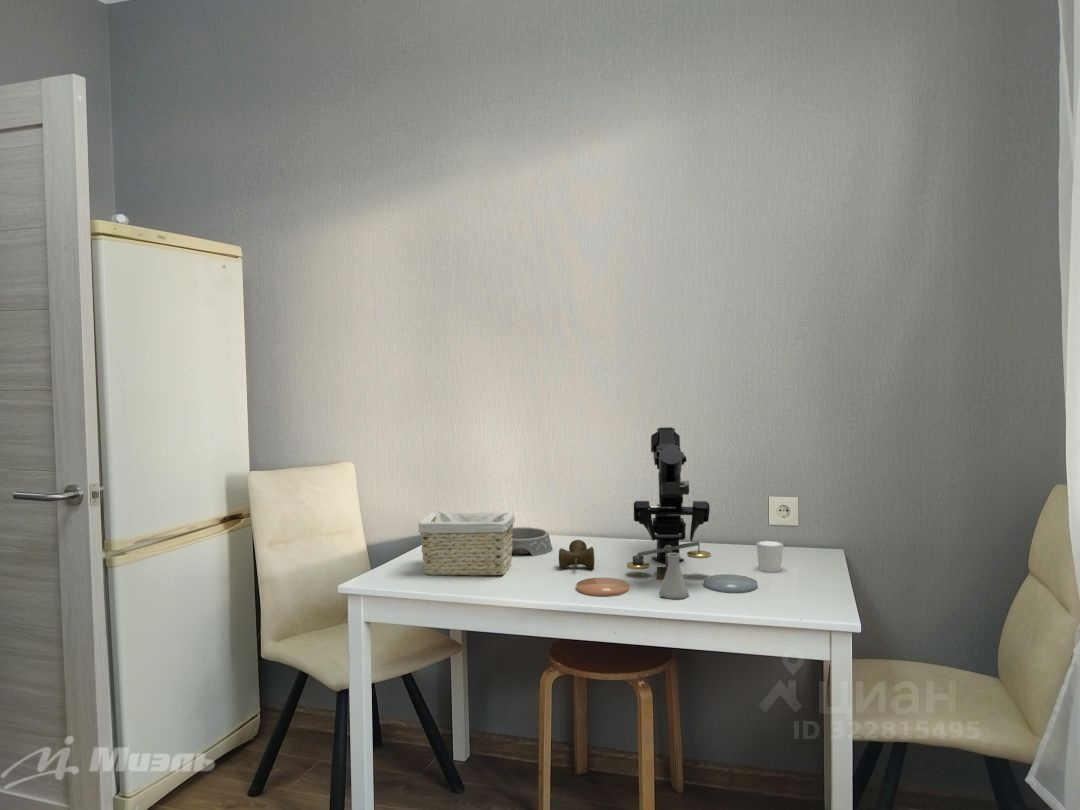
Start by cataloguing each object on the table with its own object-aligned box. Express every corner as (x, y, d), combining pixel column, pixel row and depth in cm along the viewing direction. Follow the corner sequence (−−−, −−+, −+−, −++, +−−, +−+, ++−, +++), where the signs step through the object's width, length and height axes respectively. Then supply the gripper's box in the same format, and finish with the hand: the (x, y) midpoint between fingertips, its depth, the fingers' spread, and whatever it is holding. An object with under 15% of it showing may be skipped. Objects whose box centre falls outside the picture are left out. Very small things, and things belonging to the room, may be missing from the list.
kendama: (595, 558, 237) (594, 574, 217) (561, 558, 237) (557, 575, 217) (594, 537, 236) (593, 551, 216) (560, 538, 237) (557, 552, 217)
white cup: (784, 573, 215) (784, 546, 215) (757, 572, 217) (757, 545, 216) (782, 566, 222) (782, 540, 222) (755, 565, 223) (755, 539, 223)
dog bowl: (552, 557, 237) (552, 538, 237) (488, 558, 237) (488, 539, 237) (552, 543, 254) (552, 526, 254) (492, 544, 254) (492, 526, 254)
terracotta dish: (567, 585, 206) (567, 581, 206) (611, 578, 212) (611, 575, 212) (593, 599, 195) (593, 595, 195) (639, 591, 201) (639, 587, 200)
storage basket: (417, 576, 218) (415, 521, 217) (433, 561, 234) (432, 509, 233) (506, 578, 214) (505, 522, 213) (516, 562, 230) (516, 510, 229)
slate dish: (693, 582, 208) (693, 578, 208) (733, 575, 213) (733, 571, 213) (726, 595, 196) (726, 591, 196) (768, 588, 202) (768, 584, 202)
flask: (691, 592, 199) (691, 551, 199) (686, 601, 193) (686, 558, 192) (661, 590, 202) (661, 549, 201) (655, 598, 195) (655, 556, 194)
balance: (625, 578, 212) (625, 543, 212) (627, 570, 220) (626, 536, 220) (711, 580, 209) (711, 545, 208) (710, 572, 217) (709, 538, 216)
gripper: (633, 469, 208) (633, 521, 197) (708, 469, 205) (713, 521, 195) (633, 495, 216) (634, 546, 205) (706, 495, 214) (710, 547, 203)
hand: (672, 540), depth 202 cm, fingers open, 9 cm apart
